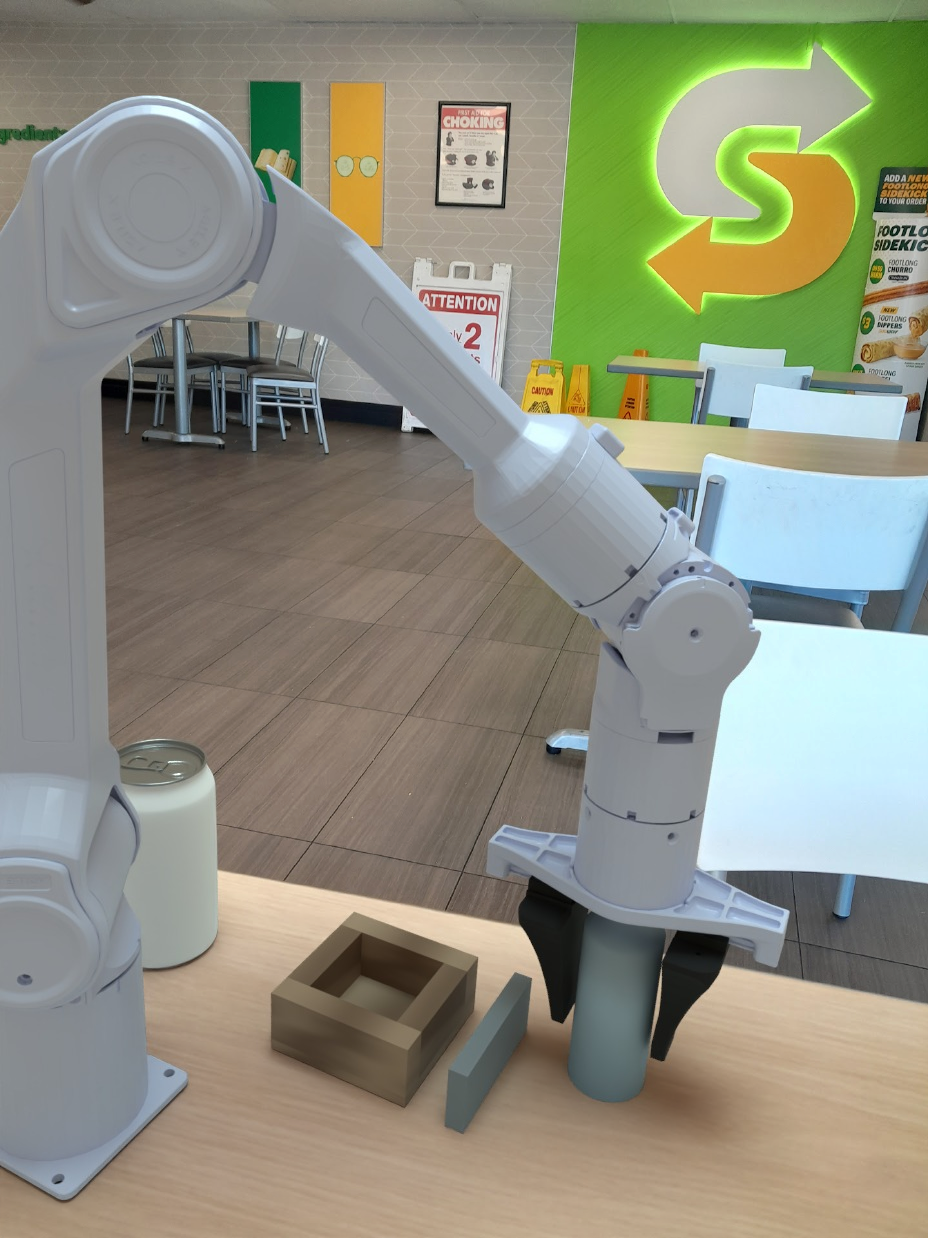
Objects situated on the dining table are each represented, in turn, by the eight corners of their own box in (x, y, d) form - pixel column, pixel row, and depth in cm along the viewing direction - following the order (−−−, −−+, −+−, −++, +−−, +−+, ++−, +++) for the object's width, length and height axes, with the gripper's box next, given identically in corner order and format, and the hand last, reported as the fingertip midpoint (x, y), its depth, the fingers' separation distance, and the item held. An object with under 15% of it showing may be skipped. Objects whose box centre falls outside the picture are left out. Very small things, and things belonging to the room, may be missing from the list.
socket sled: (271, 1048, 52) (271, 993, 51) (352, 961, 59) (354, 911, 58) (404, 1107, 49) (407, 1050, 48) (474, 1009, 56) (478, 957, 54)
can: (189, 983, 56) (182, 796, 52) (85, 962, 57) (71, 777, 53) (236, 916, 62) (233, 744, 58) (141, 899, 63) (132, 728, 60)
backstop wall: (444, 1126, 48) (448, 1069, 47) (509, 1024, 55) (514, 972, 54) (462, 1135, 47) (467, 1077, 46) (526, 1031, 54) (532, 978, 53)
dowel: (556, 1085, 51) (573, 937, 48) (582, 1036, 54) (599, 895, 51) (631, 1115, 49) (653, 965, 46) (653, 1063, 53) (675, 919, 50)
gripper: (815, 798, 47) (769, 1030, 51) (532, 726, 53) (512, 940, 57) (793, 870, 41) (742, 1126, 45) (476, 779, 47) (458, 1014, 51)
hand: (611, 1028), depth 51 cm, fingers open, 5 cm apart
